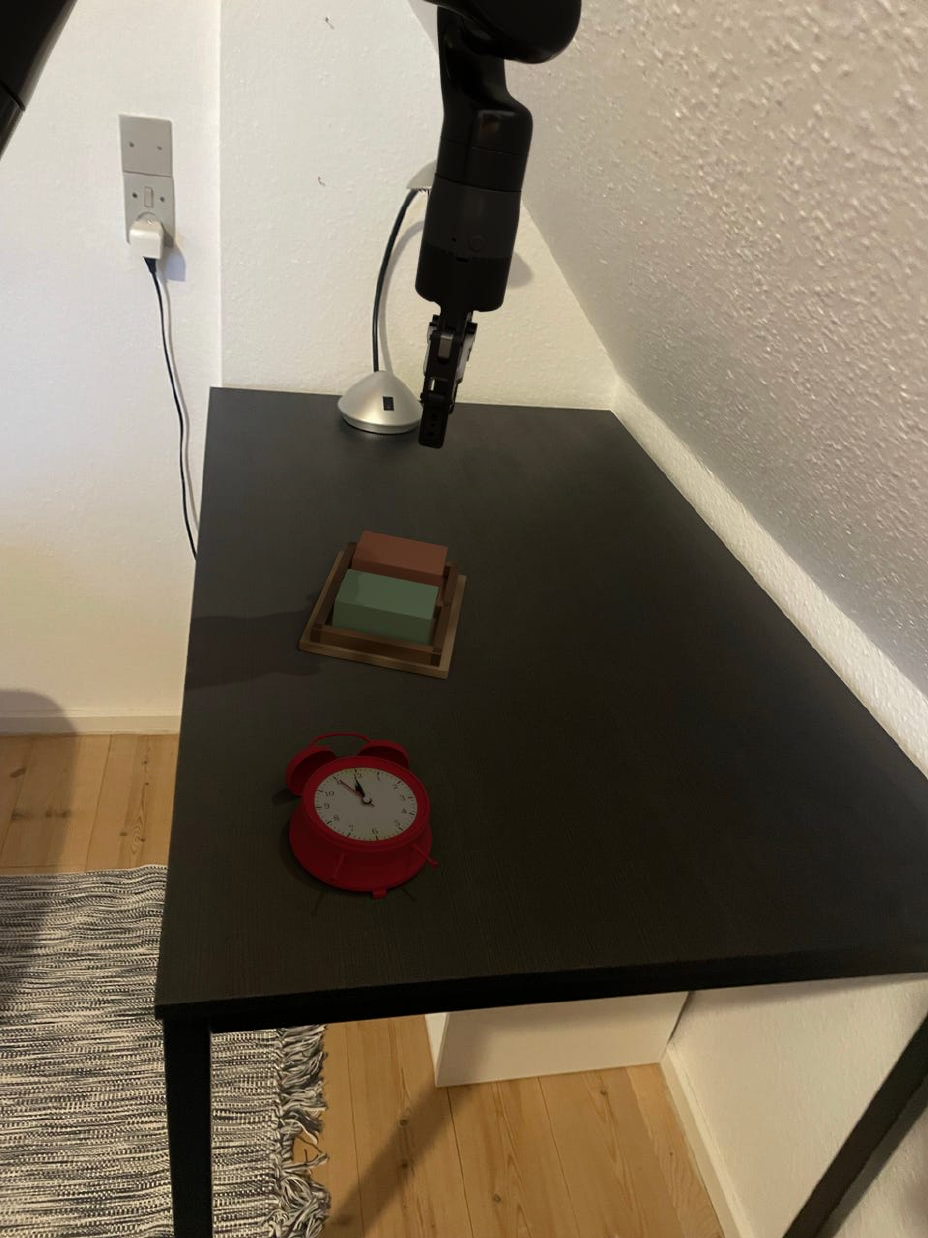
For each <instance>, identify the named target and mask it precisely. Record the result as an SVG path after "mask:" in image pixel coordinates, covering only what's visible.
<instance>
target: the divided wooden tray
mask: <svg viewBox="0 0 928 1238" xmlns="http://www.w3.org/2000/svg"><path fill="white" fill-rule="evenodd" d="M358 543H359V542H355V541H350V540H348V543H347V545H346V547H345V549H344V550H339V552H338V554H337V555H336V558H335V560H334V563H333V565H332V567H331V570H330V572H329V574H328V577H327V578H326V580H325V583H324V585H323V588H322V590H321V592H320V594H319V597H318V598H317V601H316V603H315V606H314V608H313V610H312V613H311V615H310V617H309V619H308V621H307V624H306V625H305V629H304V631H303V633H302V635H301V636H300V640H299V643H298V650H299V651H303V652H308V653H313V654H316V655H317V654H318V655H324V656H326V657H327V656H329V657H333V658H338V659H343V660H347V661H353V662H357V663H362V664H367V665H373V666H378V667H383V668H387V669H393V670H398V671H401V672H402V671H403V672H407V673H411V674H418V675H422V676H427V677H432V678H437V679H442V680H447V679H448V676H449V671H450V665H451V660H452V655H453V650H454V645H455V639H456V635H457V628H458V625H459V624H458V623H459V619H460V612H461V607H462V604H463V603H462V602H463V598H464V593H465V587H466V582H467V575H464V574H460V569H461V563H459V562H456V561H455V562H454V561H449V560H446V561H445V567H444V572H443V577H442V582H441V586H440V591H439V595H438V600H436V605H435V610H434V616H433V621H432V625H431V629H430V634H429V638H428V642H427V645H422V644H417V643H412V642H407V641H402V640H397V639H392V638H387V637H382V636H377V635H372V634H367V633H362V632H357V631H353V630H348V629H343V628H338V627H333V626H332V620H333V612H334V603H335V599H336V596H337V594H338V592H339V589H340V587H341V584H342V582H343V579H344V577H345V574H346V572H347V570H348V569H351V566H352V559H353V555H354V553H355V550H356V548H357V545H358Z"/></svg>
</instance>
